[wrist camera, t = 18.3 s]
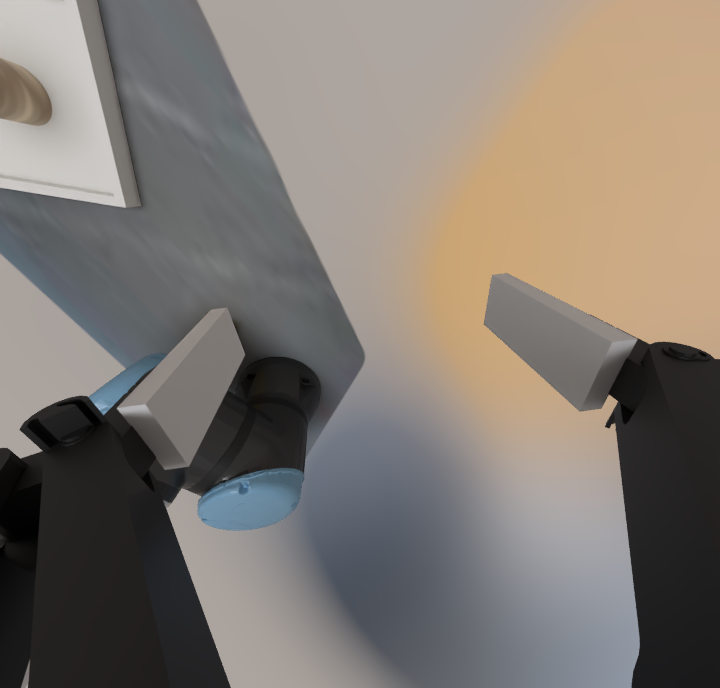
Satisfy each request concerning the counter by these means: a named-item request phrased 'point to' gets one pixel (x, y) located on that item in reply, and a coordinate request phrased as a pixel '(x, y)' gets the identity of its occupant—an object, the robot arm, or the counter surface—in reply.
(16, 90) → the dowel
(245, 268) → the counter surface
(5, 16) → the tray
